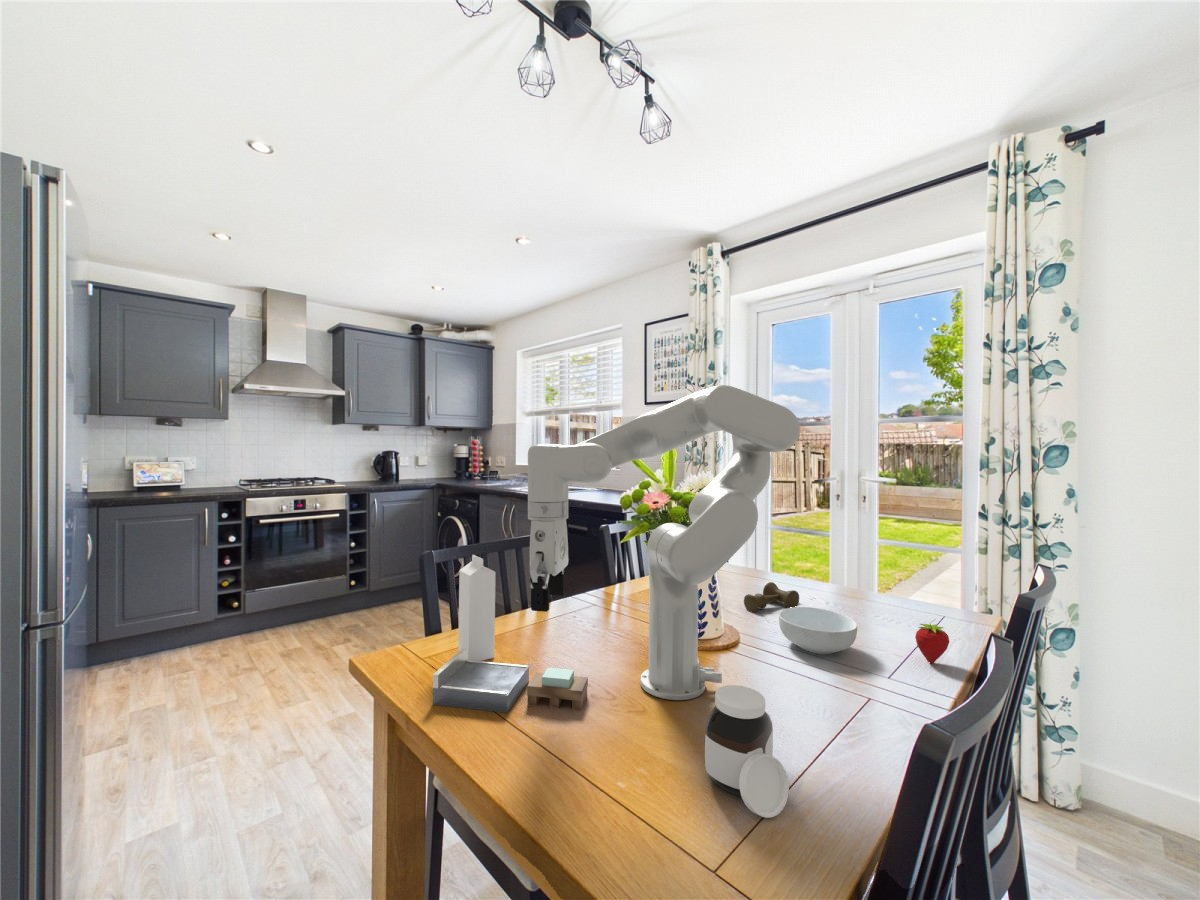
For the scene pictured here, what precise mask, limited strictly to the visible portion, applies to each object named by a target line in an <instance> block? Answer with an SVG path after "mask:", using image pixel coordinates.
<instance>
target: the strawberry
mask: <svg viewBox="0 0 1200 900" xmlns="http://www.w3.org/2000/svg"><path fill="white" fill-rule="evenodd" d="M935 620H937V619H936V618H935V619H933V620H932V621H931V623H929V624H928V623H919V625H921V626H918V629H917V631H916V633H915V637H914V638H915V642H916V645H917V647H918V649H919V651H920V652H921V654H922V655H923V657H924V658H925V660H926V661H927V662H928V663H929V662H930V663H929V664H934V663H935V662H937V660H938V659H939V658H941V657H942V656H943V655H944V653H945V652H946V651H947V649H948V647H949V644H950V638H949V635H948V634H947V633H946V631H944V630H942V629H944V627H942V626H939V625H938V626H937V624H935V623H934V624H932V622H935Z"/></svg>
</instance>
